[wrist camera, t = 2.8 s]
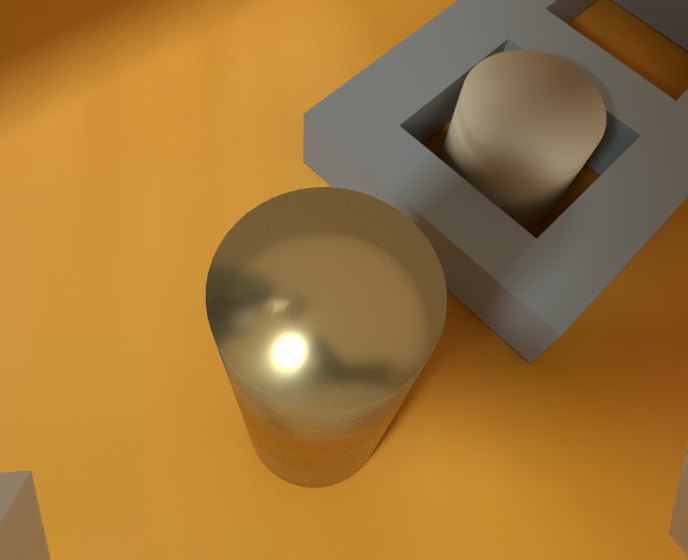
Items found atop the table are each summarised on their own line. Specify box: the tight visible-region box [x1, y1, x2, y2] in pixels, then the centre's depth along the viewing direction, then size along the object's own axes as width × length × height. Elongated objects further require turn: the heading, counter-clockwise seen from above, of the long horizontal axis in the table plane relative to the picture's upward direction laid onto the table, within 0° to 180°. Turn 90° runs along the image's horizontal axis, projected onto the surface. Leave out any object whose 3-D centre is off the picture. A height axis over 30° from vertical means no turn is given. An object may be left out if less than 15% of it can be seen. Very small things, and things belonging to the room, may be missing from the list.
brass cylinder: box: [206, 187, 447, 488], centre depth 17 cm, size 4×4×11 cm
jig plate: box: [303, 0, 688, 364], centre depth 27 cm, size 12×20×3 cm, turn 135°
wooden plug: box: [439, 50, 606, 228], centre depth 25 cm, size 5×5×4 cm
